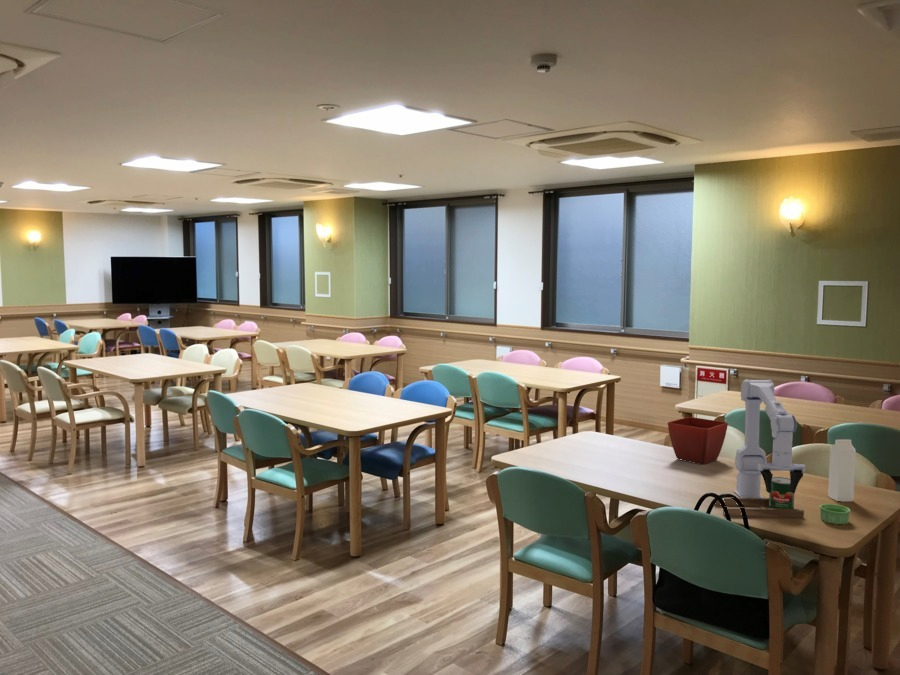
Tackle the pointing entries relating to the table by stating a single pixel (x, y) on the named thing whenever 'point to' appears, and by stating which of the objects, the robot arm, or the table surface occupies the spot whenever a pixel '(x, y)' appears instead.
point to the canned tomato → (781, 494)
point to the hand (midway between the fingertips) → (780, 492)
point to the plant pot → (697, 439)
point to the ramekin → (835, 513)
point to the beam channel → (759, 511)
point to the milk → (842, 470)
